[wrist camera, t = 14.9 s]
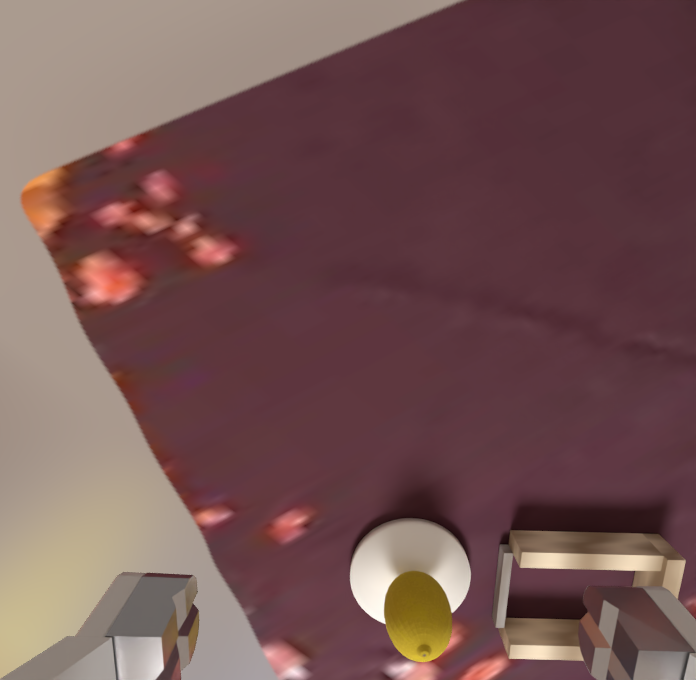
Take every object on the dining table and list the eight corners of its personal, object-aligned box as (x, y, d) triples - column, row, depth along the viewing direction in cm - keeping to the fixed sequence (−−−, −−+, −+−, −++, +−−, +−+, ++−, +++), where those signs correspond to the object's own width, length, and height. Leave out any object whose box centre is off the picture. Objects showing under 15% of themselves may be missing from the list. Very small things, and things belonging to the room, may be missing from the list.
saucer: (472, 519, 42) (475, 526, 41) (463, 620, 44) (465, 629, 43) (351, 516, 42) (351, 523, 41) (349, 617, 44) (348, 626, 43)
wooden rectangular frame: (658, 533, 42) (685, 560, 39) (639, 634, 44) (662, 667, 41) (501, 529, 42) (514, 555, 39) (490, 630, 45) (501, 663, 41)
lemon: (411, 540, 41) (425, 611, 33) (454, 577, 42) (477, 655, 34) (368, 578, 42) (372, 656, 34) (410, 613, 43) (424, 697, 35)
